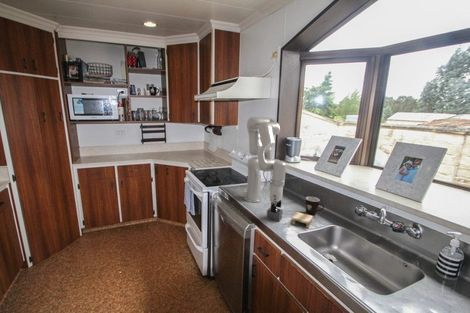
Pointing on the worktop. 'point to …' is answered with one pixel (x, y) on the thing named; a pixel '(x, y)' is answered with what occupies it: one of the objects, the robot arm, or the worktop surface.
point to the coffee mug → (312, 205)
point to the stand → (302, 219)
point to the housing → (274, 214)
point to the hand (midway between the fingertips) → (275, 209)
